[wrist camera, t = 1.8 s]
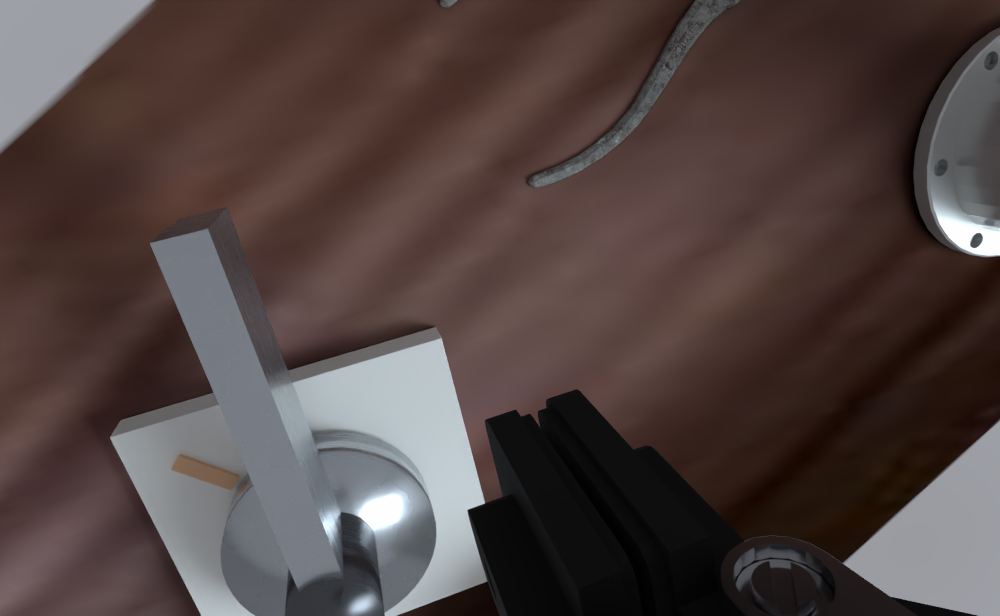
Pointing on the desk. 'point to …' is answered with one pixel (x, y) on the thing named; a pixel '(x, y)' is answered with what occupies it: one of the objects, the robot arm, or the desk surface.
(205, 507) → the dial plate
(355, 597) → the dial
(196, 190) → the desk surface
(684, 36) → the pliers
